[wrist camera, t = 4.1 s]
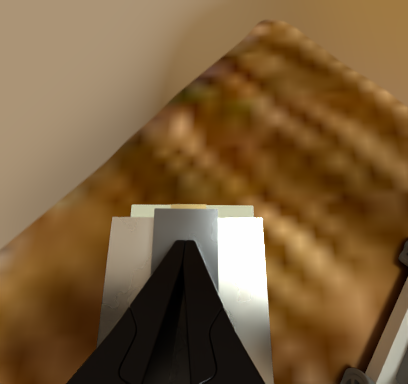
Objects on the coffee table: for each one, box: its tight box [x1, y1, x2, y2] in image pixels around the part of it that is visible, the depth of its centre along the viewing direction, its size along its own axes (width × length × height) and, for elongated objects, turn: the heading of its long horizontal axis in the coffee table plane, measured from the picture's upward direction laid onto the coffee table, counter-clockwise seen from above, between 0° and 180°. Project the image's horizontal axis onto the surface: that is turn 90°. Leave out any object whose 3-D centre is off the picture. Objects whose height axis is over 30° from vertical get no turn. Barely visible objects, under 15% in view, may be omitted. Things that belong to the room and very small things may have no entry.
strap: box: [150, 208, 219, 384], centre depth 9 cm, size 10×3×1 cm, turn 0°
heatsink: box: [96, 204, 274, 384], centre depth 13 cm, size 11×8×7 cm
